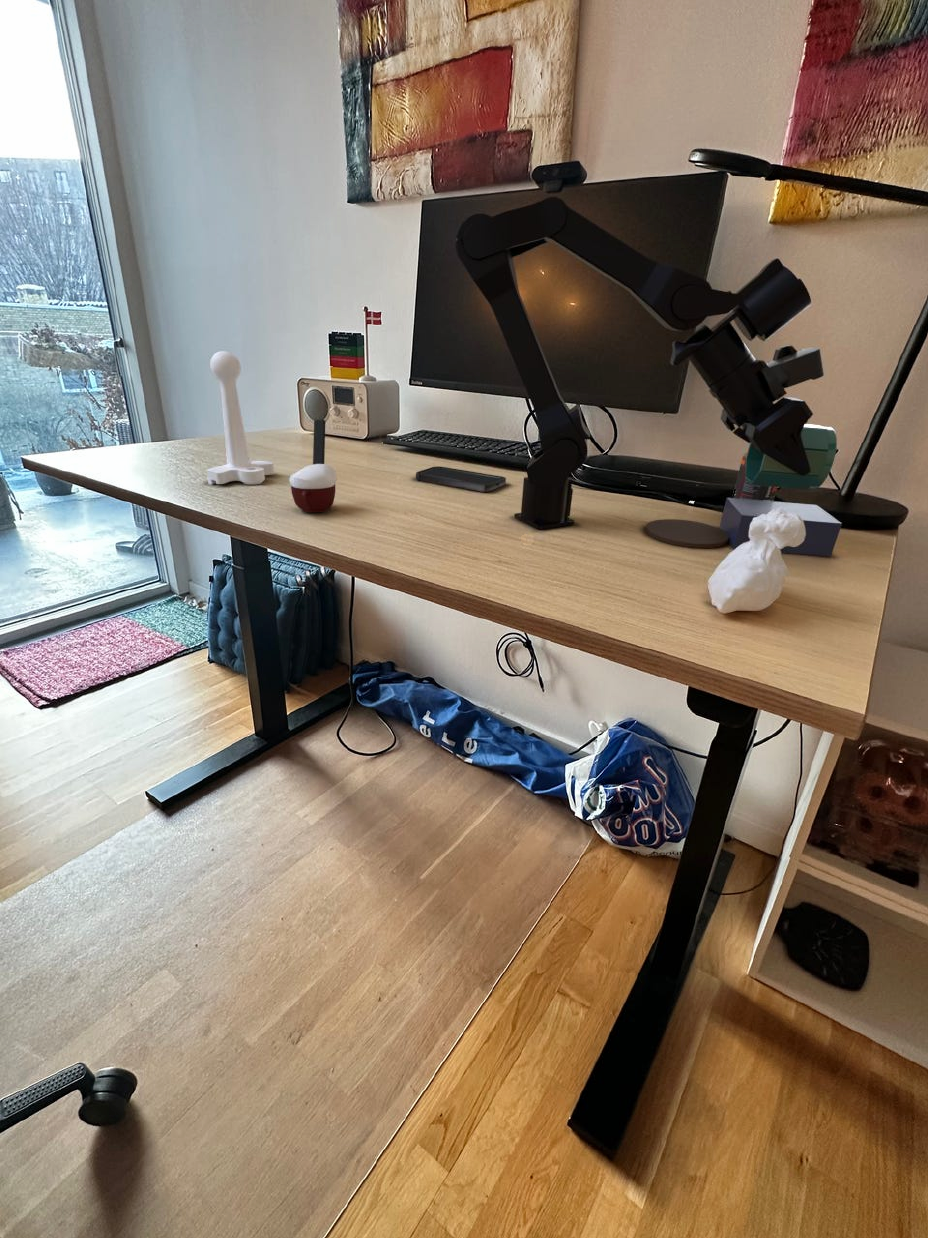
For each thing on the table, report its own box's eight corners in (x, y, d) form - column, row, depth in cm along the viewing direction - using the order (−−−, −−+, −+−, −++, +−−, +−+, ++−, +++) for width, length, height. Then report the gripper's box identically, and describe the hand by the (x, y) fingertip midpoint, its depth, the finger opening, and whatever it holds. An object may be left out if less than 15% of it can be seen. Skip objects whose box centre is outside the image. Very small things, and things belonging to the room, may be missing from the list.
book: (733, 548, 77) (741, 515, 75) (719, 528, 85) (726, 497, 82) (831, 557, 75) (842, 523, 73) (807, 535, 83) (817, 504, 81)
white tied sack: (733, 647, 57) (844, 576, 50) (679, 590, 57) (783, 513, 50) (741, 602, 66) (835, 538, 60) (694, 554, 66) (783, 485, 60)
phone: (436, 465, 109) (508, 477, 103) (436, 471, 110) (507, 483, 103) (413, 473, 103) (487, 485, 97) (413, 479, 104) (487, 492, 97)
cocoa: (312, 520, 80) (305, 430, 75) (278, 513, 83) (268, 425, 77) (354, 505, 88) (350, 422, 83) (321, 498, 90) (315, 418, 85)
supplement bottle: (774, 519, 90) (795, 444, 84) (733, 515, 91) (752, 441, 85) (764, 509, 95) (783, 437, 90) (725, 505, 96) (743, 435, 91)
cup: (755, 489, 74) (772, 426, 70) (741, 475, 80) (756, 418, 77) (822, 495, 72) (843, 432, 69) (802, 481, 79) (820, 423, 76)
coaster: (689, 552, 74) (690, 548, 74) (628, 528, 83) (629, 524, 82) (745, 541, 79) (746, 537, 79) (682, 519, 88) (683, 515, 87)
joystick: (260, 471, 105) (245, 350, 96) (287, 478, 101) (274, 352, 92) (203, 482, 97) (181, 350, 88) (230, 490, 93) (210, 353, 84)
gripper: (820, 318, 60) (895, 436, 63) (769, 321, 76) (831, 415, 80) (721, 394, 65) (796, 500, 68) (693, 381, 81) (755, 468, 85)
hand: (796, 467), depth 75 cm, fingers closed on cup, 7 cm apart
